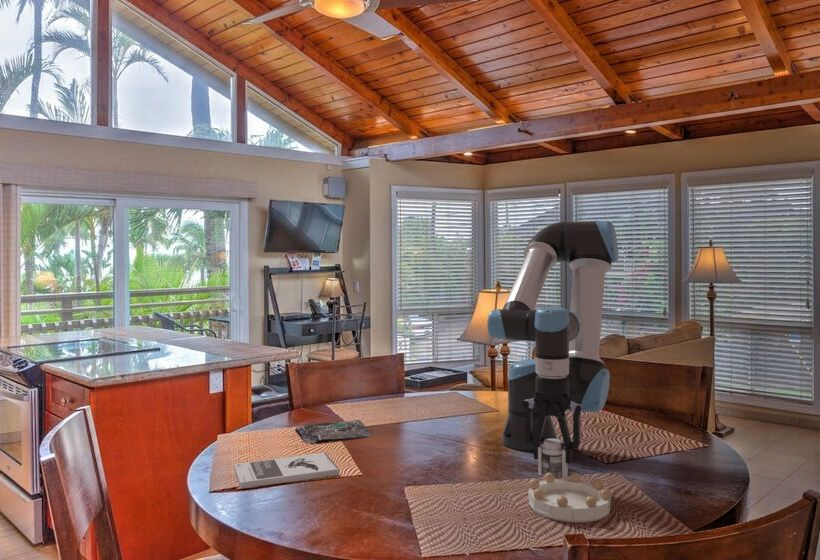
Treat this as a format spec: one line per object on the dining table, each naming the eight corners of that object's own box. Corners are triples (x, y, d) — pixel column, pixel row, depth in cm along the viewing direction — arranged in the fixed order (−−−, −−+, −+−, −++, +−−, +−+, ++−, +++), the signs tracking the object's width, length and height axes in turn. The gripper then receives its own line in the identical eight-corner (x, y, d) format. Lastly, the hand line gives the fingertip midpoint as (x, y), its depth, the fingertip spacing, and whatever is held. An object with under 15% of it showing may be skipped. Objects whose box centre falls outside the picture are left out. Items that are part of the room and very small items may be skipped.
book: (240, 491, 143) (240, 482, 143) (234, 471, 156) (233, 464, 156) (338, 477, 152) (338, 469, 152) (325, 460, 165) (324, 452, 165)
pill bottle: (539, 473, 148) (539, 438, 148) (559, 472, 148) (559, 437, 148) (545, 480, 143) (545, 444, 143) (566, 479, 144) (565, 443, 143)
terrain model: (305, 447, 176) (305, 436, 176) (295, 433, 190) (295, 423, 190) (374, 439, 183) (374, 428, 183) (360, 426, 198) (360, 416, 197)
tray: (519, 514, 128) (519, 491, 128) (538, 486, 143) (538, 466, 143) (605, 529, 121) (605, 504, 121) (615, 497, 136) (615, 476, 136)
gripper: (509, 375, 145) (510, 475, 146) (589, 381, 137) (590, 486, 139) (518, 369, 152) (519, 464, 153) (594, 374, 144) (594, 474, 146)
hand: (552, 474), depth 146 cm, fingers closed on pill bottle, 5 cm apart
